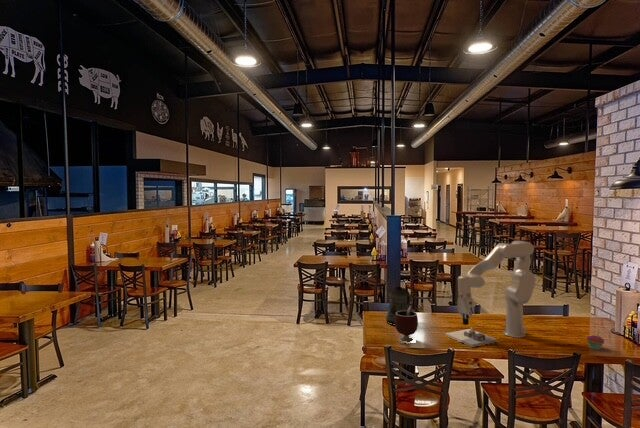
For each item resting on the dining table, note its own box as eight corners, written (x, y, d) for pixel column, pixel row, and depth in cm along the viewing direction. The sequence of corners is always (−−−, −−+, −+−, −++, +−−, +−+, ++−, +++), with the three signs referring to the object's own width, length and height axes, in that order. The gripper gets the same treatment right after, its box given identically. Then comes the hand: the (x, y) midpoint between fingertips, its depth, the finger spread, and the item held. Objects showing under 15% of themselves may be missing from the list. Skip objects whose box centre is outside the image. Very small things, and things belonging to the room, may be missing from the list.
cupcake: (597, 345, 236) (597, 325, 235) (608, 350, 227) (608, 329, 227) (582, 345, 235) (583, 325, 235) (593, 351, 227) (593, 330, 226)
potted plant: (382, 324, 282) (382, 289, 281) (391, 317, 299) (391, 283, 298) (406, 327, 274) (405, 291, 273) (413, 320, 291) (413, 285, 290)
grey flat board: (445, 336, 255) (445, 328, 255) (469, 331, 263) (469, 324, 263) (471, 347, 235) (471, 339, 235) (497, 342, 243) (497, 334, 243)
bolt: (467, 335, 250) (467, 326, 249) (470, 334, 251) (470, 326, 250) (480, 340, 241) (480, 331, 240) (483, 339, 241) (483, 330, 241)
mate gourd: (413, 346, 239) (413, 312, 238) (391, 342, 246) (391, 310, 246) (421, 338, 252) (421, 306, 252) (400, 335, 259) (400, 304, 259)
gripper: (478, 297, 248) (479, 326, 248) (460, 292, 261) (461, 320, 262) (469, 298, 245) (470, 328, 245) (451, 294, 258) (452, 322, 259)
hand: (465, 324), depth 254 cm, fingers closed
